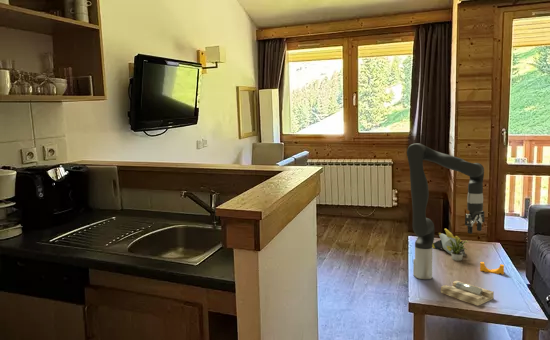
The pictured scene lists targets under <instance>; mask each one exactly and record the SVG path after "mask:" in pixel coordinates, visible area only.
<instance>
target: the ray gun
mask: <svg viewBox="0 0 550 340" xmlns="http://www.w3.org/2000/svg"><path fill="white" fill-rule="evenodd" d="M443 231H444V232H445V233H441V232H438V236H439V238H440V239H439V240H436V241H434V242H433V245H432V249H436V248H437V249H436V250H440V249H441V250H442V251H446V252H447V253H448V254H450V255H451V252H453V250H452V249H451V248H447V247H452V245H451V244H452V243H451V241H450V239H451V240H452V241H453V243H454V242H455V245H456V240H457V241H458V239H459V236H457V235H455V236H454V234H453V233H452V232H451V230H449V229H447V228H444V230H443ZM455 238H456V239H455ZM448 241H449V242H450V243H451V244H450V243H449V242H448ZM463 242H464V240H462V239H460V243H463ZM455 245H454V246H455ZM460 245H461V244H460ZM460 245H459V246H460ZM460 252H462V253H463V257H466V256H467V255H466V251H465V249H462V250H461V251H460Z"/></svg>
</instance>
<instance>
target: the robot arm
mask: <svg viewBox="0 0 550 340" xmlns="http://www.w3.org/2000/svg"><path fill="white" fill-rule="evenodd" d="M406 156H407V162H408V167H409V179H410V180H409V181H410V194H411V205H412V207H411V208H412V231H413V233H414V234H415V236H417V238H416V240H415V242H414V259H413V261H412V263H413V266H412V267H413V268H412V269H413V271H412V272H413V274H412V275H413V276H414V278H417V279H419V280H431V279H432V278H433V247H432V245H433V243H435V224H434V222H433V220H431V218H428V217H426V216H427V215H426V214H427V213H426V210H427V205H428V202H429V197H430V196H429V195H430V193H429V192H430V191H429V184H428V182H429V181H428V179H427V176H426V173H425V170H424V161H428V162H432V163H435V164H437V165H439V166H442V167H444V168H446V169H449V170H452V171H455V172H459V173H461V174H463V175H466V176H468V177H469V181H468V184H467V198H466V199H467V200H466V202H467V203H466V207H467V211H468V213H465V215H464V217H465V218H464V226H466V227H467V233H468V234H473V226H474V224H475V223H476V231H478V232H481V231H482V225H483V223H485V211H484V178H485V167H484V166H483V164H482V163H479V162H474V163H473V162H469V161H467V160H465V159H463V158H461V157H457V156H454V155H451V154H447V153H443V152H440V151H437V150H434V149H433V148H430V147H428V146H426V145H424V144H422V143H419V142H418V143H412V144H410V145H409V146H408V148H407V151H406Z"/></svg>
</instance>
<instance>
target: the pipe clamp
mask: <svg viewBox="0 0 550 340" xmlns="http://www.w3.org/2000/svg"><path fill="white" fill-rule="evenodd" d="M479 265H480V267H479V271H480V272H485V273H490V274H495V275H496V274H497V275H500V274H501V275H504V273H505V264H499V267H498V268H493V269H489V268H488V267H487V266H486V265H485V262H484V261H480V262H479Z"/></svg>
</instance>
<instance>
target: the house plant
mask: <svg viewBox="0 0 550 340" xmlns="http://www.w3.org/2000/svg"><path fill="white" fill-rule="evenodd" d="M458 238H459V239H458V241H457V240H456V245H455V242H454V243H453V241H452V240H451V239H450V241H451V243H452V244H451V243H450V242H449V241H448V242H449V243H450V244H451V245H452V247H447V248H451V249H452V250H453V252H451V254H450V257H451V259H452V260H453V261H457V262H458V261H463V259H464V258H463V257H464V256H463V253H462V252H460V251H461V250H462V249H464V250H466V245H467V244H466V243H467V242H468V239H467V240H463V242H462V243H460V240H461V238H460V237H459V236H458ZM455 239H456V238H455ZM460 244H461V245H460ZM454 245H455V246H454ZM459 245H460V246H459Z"/></svg>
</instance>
